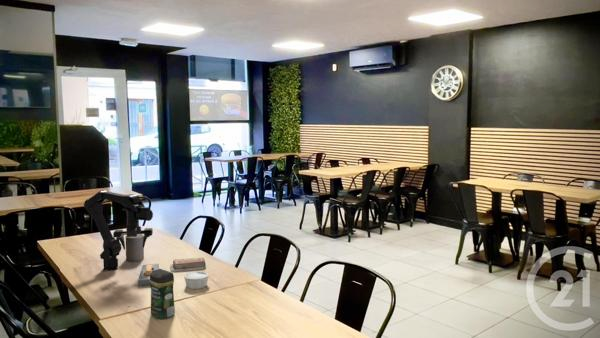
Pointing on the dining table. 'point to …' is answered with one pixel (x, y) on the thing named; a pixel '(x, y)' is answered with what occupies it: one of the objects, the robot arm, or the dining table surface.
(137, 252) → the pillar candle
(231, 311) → the dining table surface
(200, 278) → the ramekin
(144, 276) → the grey slotted plate
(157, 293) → the coffee jar
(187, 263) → the packaged product
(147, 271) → the long orange beam
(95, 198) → the robot arm
